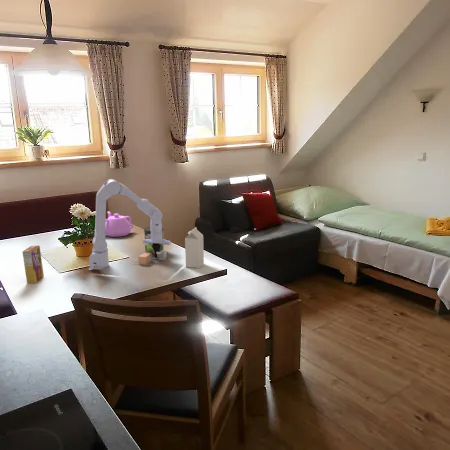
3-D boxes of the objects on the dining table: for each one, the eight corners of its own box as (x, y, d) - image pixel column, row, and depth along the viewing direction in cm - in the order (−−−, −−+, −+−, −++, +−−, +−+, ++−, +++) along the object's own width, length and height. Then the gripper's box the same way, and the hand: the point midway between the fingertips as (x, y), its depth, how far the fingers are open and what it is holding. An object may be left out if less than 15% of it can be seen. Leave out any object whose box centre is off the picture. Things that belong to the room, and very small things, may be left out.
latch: (162, 262, 212) (161, 252, 211) (154, 261, 213) (154, 251, 212) (166, 258, 218) (166, 248, 217) (159, 258, 219) (159, 248, 218)
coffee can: (159, 257, 224) (158, 231, 221) (141, 255, 227) (140, 230, 224) (167, 251, 234) (166, 227, 230) (150, 250, 237) (149, 225, 233)
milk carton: (203, 264, 213) (203, 227, 208) (199, 268, 206) (198, 230, 201) (190, 262, 214) (189, 226, 210) (185, 267, 208) (184, 230, 203)
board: (149, 268, 207) (149, 265, 206) (132, 266, 209) (132, 263, 209) (162, 258, 221) (161, 256, 221) (145, 257, 223) (145, 254, 223)
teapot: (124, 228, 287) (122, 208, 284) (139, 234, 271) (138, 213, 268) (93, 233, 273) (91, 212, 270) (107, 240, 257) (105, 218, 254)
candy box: (34, 276, 196) (31, 245, 192) (44, 276, 196) (40, 245, 192) (26, 283, 187) (21, 250, 184) (35, 283, 187) (31, 250, 184)
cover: (146, 264, 209) (145, 257, 208) (138, 264, 210) (138, 256, 209) (151, 260, 215) (151, 253, 214) (144, 259, 216) (144, 252, 215)
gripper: (172, 230, 216) (173, 256, 219) (146, 229, 220) (147, 253, 223) (167, 234, 210) (167, 260, 213) (140, 232, 213) (141, 257, 216)
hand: (157, 257), depth 218 cm, fingers closed, pressing on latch
